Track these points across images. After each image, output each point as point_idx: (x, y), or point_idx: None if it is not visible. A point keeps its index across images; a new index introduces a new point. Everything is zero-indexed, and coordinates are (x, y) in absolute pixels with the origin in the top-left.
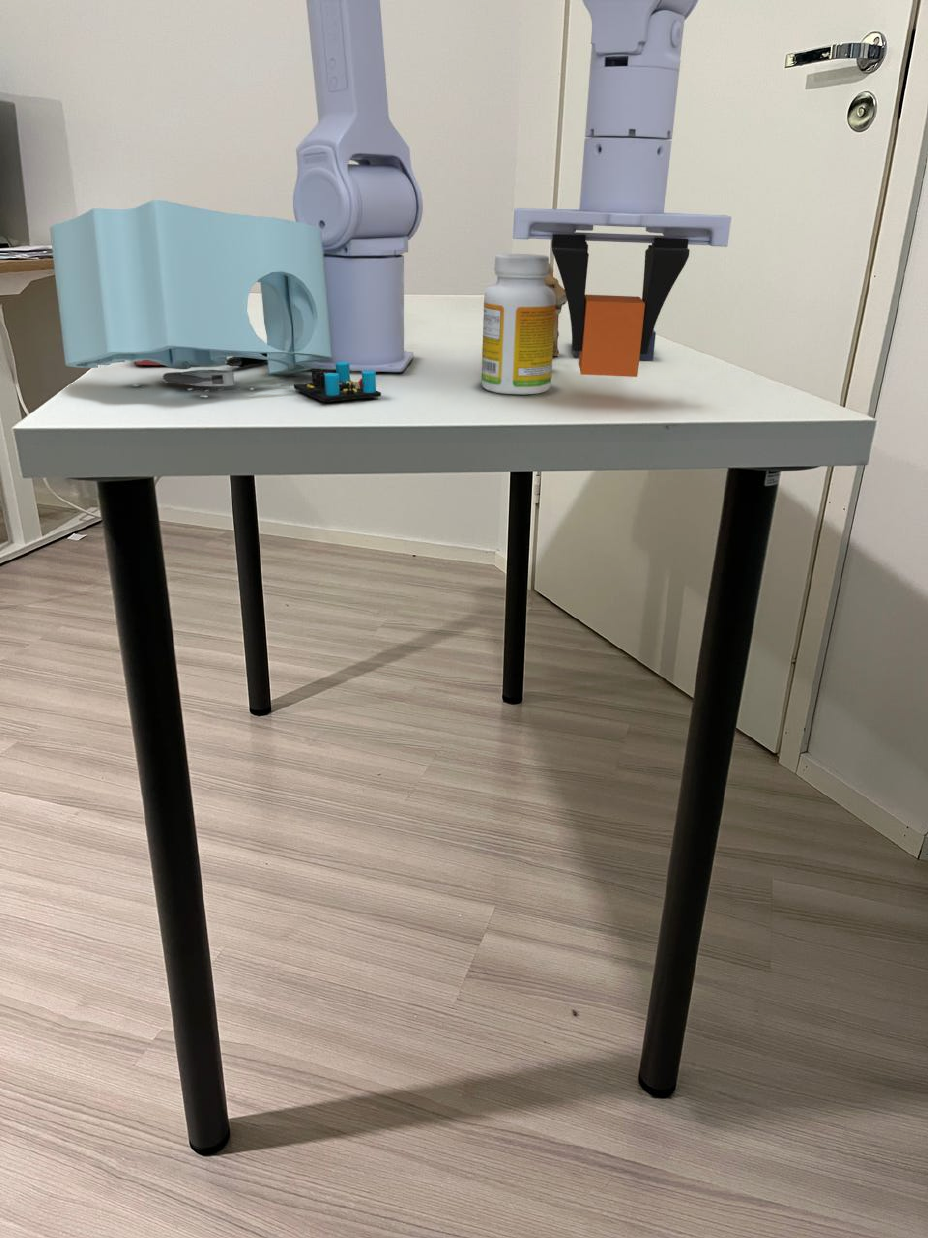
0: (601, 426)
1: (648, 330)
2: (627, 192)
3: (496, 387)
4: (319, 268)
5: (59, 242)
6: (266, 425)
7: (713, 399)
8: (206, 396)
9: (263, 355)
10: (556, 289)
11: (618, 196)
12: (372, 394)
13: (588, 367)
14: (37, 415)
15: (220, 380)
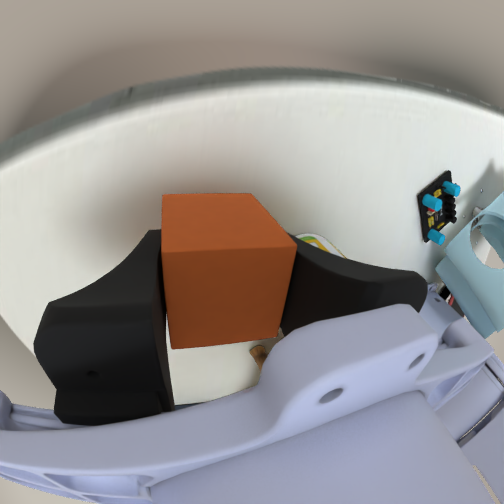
0: (222, 77)
1: (147, 241)
2: (394, 494)
3: (326, 239)
4: (493, 294)
5: None
6: (470, 109)
7: (64, 269)
8: (481, 189)
9: (443, 295)
10: None
11: (415, 458)
12: (424, 191)
13: (243, 196)
14: None
15: (476, 218)
